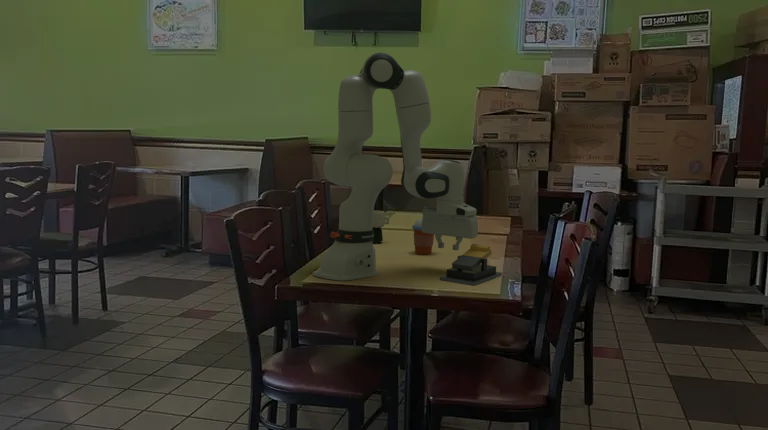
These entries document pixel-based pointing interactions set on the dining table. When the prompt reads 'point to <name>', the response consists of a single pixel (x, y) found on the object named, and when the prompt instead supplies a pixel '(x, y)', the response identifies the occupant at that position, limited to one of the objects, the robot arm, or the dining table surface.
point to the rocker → (472, 257)
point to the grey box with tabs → (472, 274)
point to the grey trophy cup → (378, 224)
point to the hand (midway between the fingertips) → (448, 248)
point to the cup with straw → (422, 239)
